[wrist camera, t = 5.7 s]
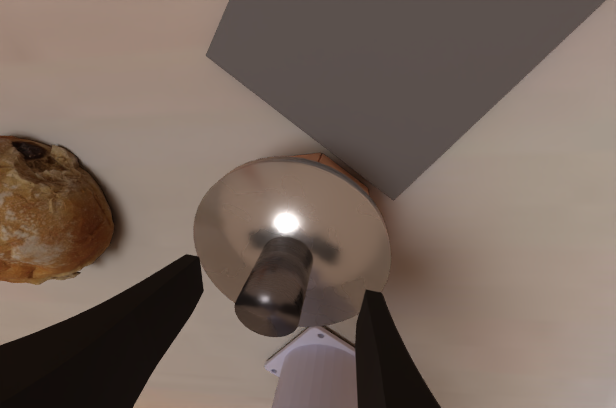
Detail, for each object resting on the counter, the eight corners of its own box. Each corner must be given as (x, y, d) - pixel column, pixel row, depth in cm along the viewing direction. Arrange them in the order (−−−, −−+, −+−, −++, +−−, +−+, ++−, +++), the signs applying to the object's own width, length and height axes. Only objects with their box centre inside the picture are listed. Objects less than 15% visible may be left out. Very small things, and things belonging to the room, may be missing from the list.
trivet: (631, -34, 10) (646, -38, 9) (392, 195, 15) (393, 200, 15) (378, -322, 8) (379, -349, 7) (211, 56, 14) (205, 55, 13)
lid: (434, 247, 12) (466, 325, 8) (307, 337, 16) (293, 413, 13) (265, 107, 10) (217, 131, 7) (174, 247, 15) (115, 306, 11)
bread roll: (156, 173, 22) (67, 166, 14) (115, 288, 22) (8, 345, 14) (40, 127, 22) (-118, 92, 14) (2, 244, 22) (-170, 277, 14)
